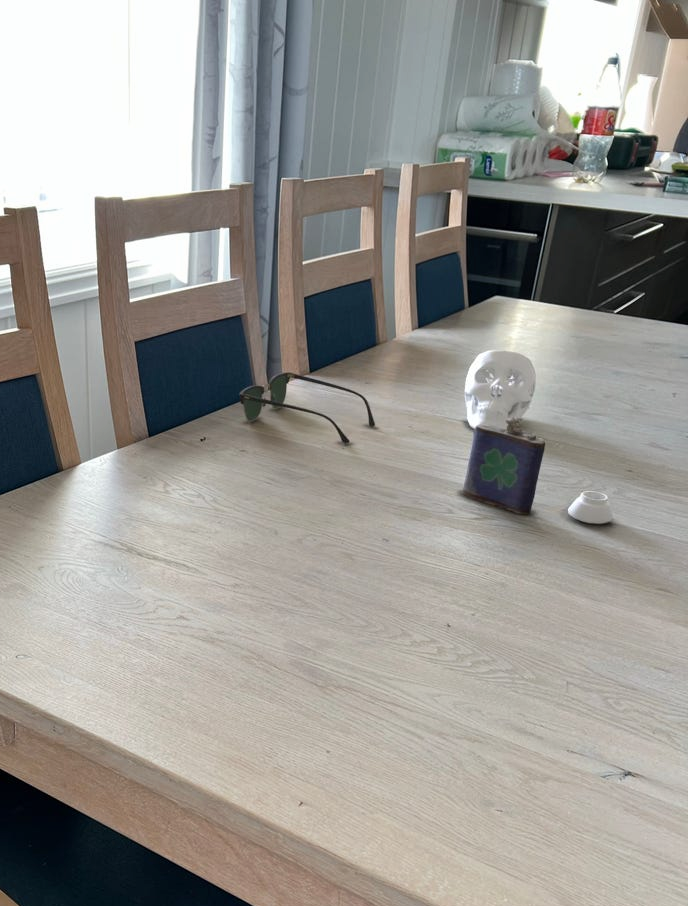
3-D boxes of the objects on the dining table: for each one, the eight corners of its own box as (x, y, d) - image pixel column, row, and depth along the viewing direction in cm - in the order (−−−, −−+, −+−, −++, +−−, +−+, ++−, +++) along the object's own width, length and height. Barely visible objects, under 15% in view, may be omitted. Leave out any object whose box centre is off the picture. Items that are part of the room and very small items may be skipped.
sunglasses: (340, 449, 136) (344, 414, 133) (234, 425, 143) (236, 391, 140) (382, 422, 149) (387, 389, 146) (283, 401, 156) (286, 370, 153)
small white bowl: (613, 528, 116) (606, 513, 120) (619, 505, 114) (613, 491, 119) (569, 523, 117) (565, 508, 121) (575, 500, 115) (570, 485, 119)
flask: (458, 493, 123) (475, 410, 118) (470, 488, 125) (487, 406, 120) (524, 516, 118) (545, 430, 113) (535, 510, 120) (556, 425, 114)
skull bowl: (453, 422, 146) (470, 343, 146) (454, 448, 159) (470, 375, 160) (525, 432, 143) (542, 351, 143) (520, 458, 156) (536, 384, 157)
